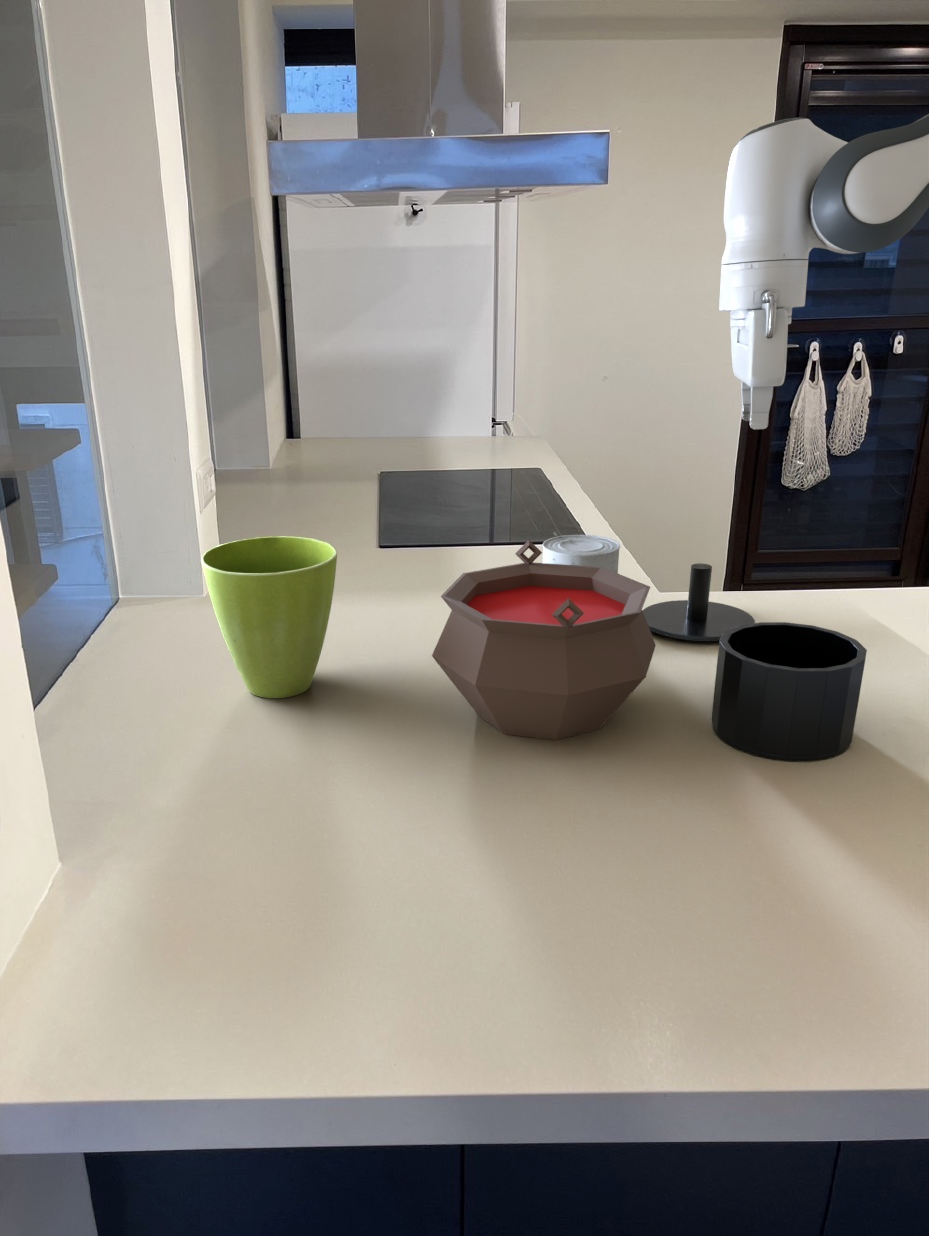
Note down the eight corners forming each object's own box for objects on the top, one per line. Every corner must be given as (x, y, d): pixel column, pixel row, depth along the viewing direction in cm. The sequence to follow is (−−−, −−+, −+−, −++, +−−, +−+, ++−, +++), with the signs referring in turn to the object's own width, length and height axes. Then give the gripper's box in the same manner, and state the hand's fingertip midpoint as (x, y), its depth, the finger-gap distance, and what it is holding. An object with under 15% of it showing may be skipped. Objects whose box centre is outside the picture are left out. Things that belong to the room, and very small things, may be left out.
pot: (826, 704, 110) (838, 621, 106) (872, 762, 97) (888, 670, 94) (699, 704, 111) (707, 622, 107) (729, 761, 98) (739, 671, 94)
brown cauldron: (686, 755, 100) (700, 597, 93) (443, 768, 98) (441, 608, 92) (622, 665, 122) (631, 531, 115) (424, 674, 120) (421, 540, 114)
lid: (738, 607, 140) (744, 550, 136) (767, 645, 126) (775, 582, 123) (631, 608, 140) (635, 551, 137) (649, 646, 127) (653, 583, 124)
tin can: (614, 626, 134) (619, 535, 129) (614, 652, 125) (620, 555, 121) (542, 623, 136) (544, 533, 131) (537, 648, 127) (540, 553, 122)
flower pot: (366, 693, 115) (360, 558, 109) (244, 724, 109) (230, 581, 102) (310, 654, 127) (302, 529, 121) (197, 679, 120) (182, 549, 114)
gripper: (807, 287, 99) (796, 433, 103) (781, 292, 117) (773, 415, 122) (739, 291, 100) (731, 435, 105) (725, 295, 119) (718, 417, 123)
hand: (753, 424), depth 113 cm, fingers open, 8 cm apart
